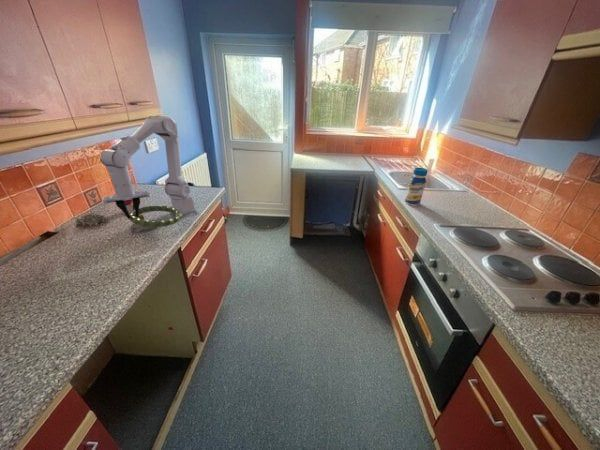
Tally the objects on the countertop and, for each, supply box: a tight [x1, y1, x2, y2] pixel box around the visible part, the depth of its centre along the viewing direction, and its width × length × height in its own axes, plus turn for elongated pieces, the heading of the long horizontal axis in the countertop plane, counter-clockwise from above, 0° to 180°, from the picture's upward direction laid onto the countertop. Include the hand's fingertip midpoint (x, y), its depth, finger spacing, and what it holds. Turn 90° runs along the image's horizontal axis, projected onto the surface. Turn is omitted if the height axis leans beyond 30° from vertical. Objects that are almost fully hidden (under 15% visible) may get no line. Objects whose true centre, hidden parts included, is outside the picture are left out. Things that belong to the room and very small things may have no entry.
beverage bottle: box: [404, 167, 429, 207], centre depth 139 cm, size 8×8×20 cm
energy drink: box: [125, 199, 135, 215], centre depth 118 cm, size 5×5×12 cm
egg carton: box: [72, 212, 106, 227], centre depth 109 cm, size 11×8×4 cm
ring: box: [129, 205, 183, 228], centre depth 101 cm, size 18×18×2 cm
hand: (133, 217), depth 96 cm, fingers closed on ring, 2 cm apart
